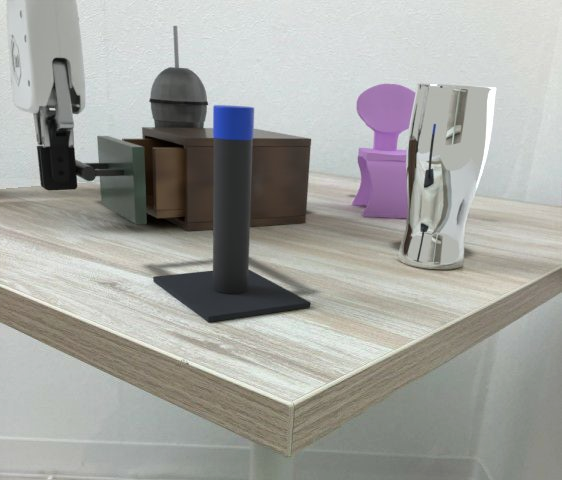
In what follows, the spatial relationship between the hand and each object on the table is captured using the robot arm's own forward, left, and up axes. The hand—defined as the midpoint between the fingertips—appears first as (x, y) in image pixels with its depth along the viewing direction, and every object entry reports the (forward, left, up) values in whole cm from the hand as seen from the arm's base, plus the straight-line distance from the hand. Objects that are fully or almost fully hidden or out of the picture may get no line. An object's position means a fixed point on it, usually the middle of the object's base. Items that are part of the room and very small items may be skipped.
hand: (59, 188), depth 64 cm
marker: (+27, +5, -3) cm, 28 cm away
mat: (+27, +5, -4) cm, 28 cm away
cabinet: (0, +18, -4) cm, 19 cm away
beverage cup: (-13, +18, -4) cm, 23 cm away
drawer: (0, +10, -3) cm, 11 cm away
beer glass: (+25, +27, -4) cm, 37 cm away
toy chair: (+3, +39, -4) cm, 40 cm away
